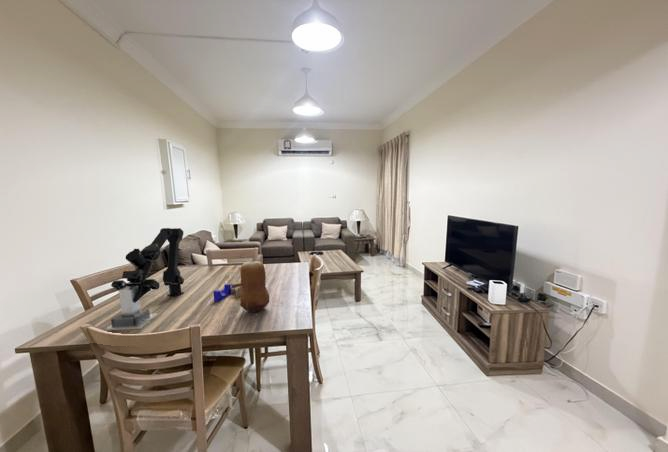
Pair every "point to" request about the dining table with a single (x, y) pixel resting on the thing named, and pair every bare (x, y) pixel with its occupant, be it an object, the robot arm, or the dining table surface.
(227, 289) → the cable clip
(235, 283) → the wooden block set
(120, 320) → the keeper bracket
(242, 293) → the butternut squash
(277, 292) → the dining table surface
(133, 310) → the white upright block
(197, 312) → the dining table surface
